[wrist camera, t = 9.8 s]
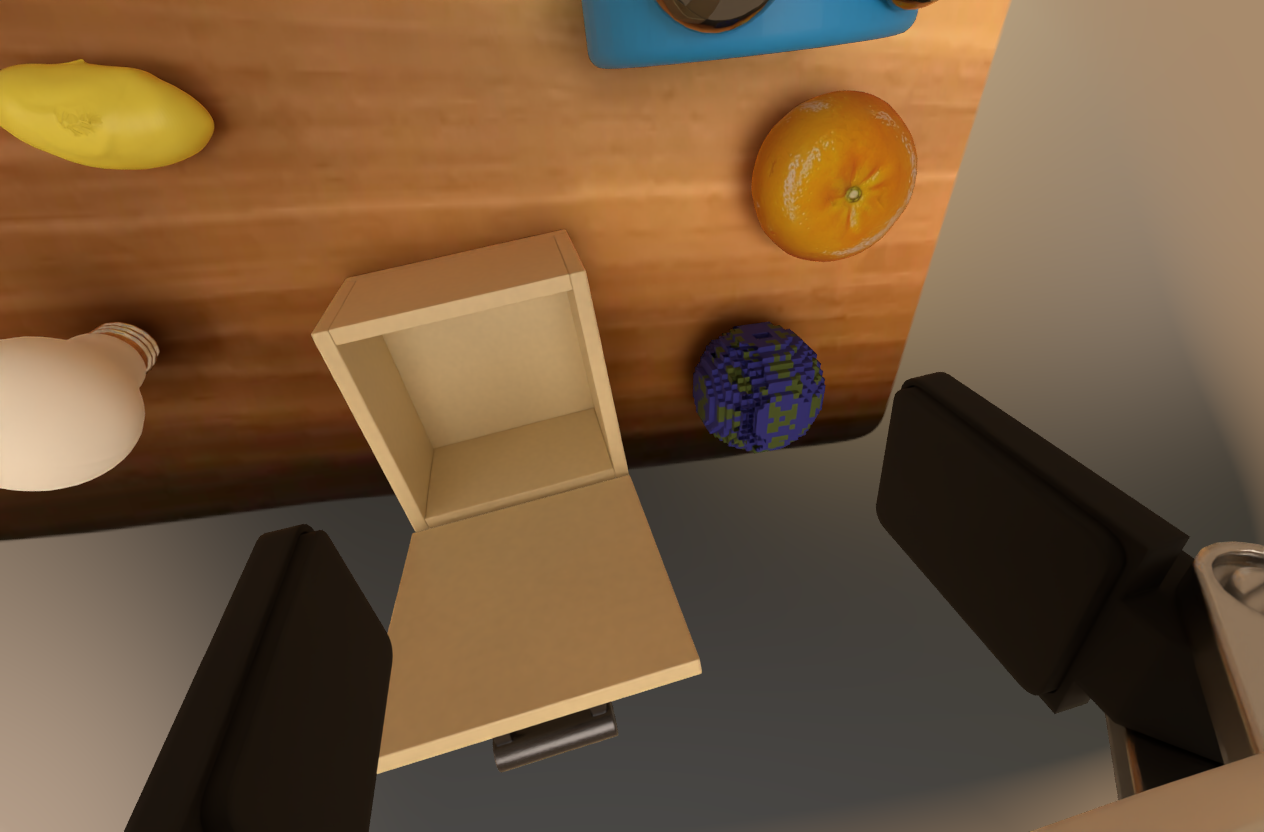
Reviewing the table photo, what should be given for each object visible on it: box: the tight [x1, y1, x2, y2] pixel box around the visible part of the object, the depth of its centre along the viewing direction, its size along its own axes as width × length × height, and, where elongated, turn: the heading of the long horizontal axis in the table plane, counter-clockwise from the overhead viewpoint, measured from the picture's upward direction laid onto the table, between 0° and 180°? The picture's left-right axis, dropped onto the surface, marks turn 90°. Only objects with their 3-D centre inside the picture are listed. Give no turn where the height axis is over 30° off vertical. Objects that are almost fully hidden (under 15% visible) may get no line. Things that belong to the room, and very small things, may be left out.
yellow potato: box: [0, 59, 214, 170], centre depth 24 cm, size 4×8×4 cm, turn 81°
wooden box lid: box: [377, 475, 702, 774], centre depth 27 cm, size 13×13×5 cm
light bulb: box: [0, 322, 160, 491], centre depth 26 cm, size 7×7×11 cm
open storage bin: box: [311, 229, 629, 532], centre depth 32 cm, size 13×13×8 cm
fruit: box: [752, 91, 917, 262], centre depth 31 cm, size 8×9×8 cm
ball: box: [693, 322, 825, 453], centre depth 37 cm, size 8×8×8 cm
